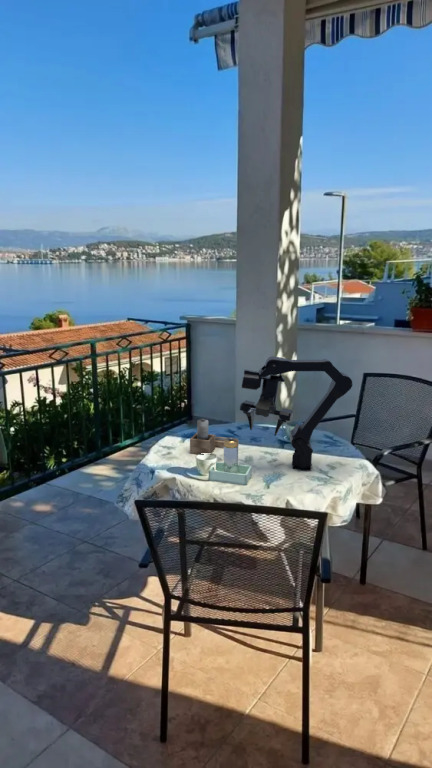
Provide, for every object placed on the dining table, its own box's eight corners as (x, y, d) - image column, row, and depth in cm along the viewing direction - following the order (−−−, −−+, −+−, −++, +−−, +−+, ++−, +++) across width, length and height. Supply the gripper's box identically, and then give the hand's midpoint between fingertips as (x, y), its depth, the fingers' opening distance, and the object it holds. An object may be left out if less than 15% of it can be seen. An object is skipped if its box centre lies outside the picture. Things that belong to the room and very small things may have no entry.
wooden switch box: (227, 443, 208) (227, 435, 207) (223, 448, 202) (223, 440, 201) (208, 441, 210) (208, 433, 209) (204, 446, 204) (204, 438, 203)
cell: (235, 472, 176) (235, 435, 173) (240, 478, 171) (240, 439, 168) (221, 474, 175) (221, 436, 172) (226, 479, 170) (226, 440, 167)
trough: (251, 475, 175) (251, 466, 175) (246, 485, 167) (246, 475, 166) (215, 470, 179) (215, 461, 178) (208, 480, 171) (208, 470, 170)
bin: (214, 449, 201) (215, 417, 198) (209, 455, 193) (209, 423, 190) (196, 446, 203) (196, 415, 200) (189, 453, 195) (189, 421, 192)
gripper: (238, 390, 174) (232, 432, 177) (290, 401, 168) (283, 444, 172) (247, 385, 184) (241, 425, 188) (296, 395, 178) (289, 436, 182)
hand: (263, 432), depth 182 cm, fingers open, 9 cm apart
